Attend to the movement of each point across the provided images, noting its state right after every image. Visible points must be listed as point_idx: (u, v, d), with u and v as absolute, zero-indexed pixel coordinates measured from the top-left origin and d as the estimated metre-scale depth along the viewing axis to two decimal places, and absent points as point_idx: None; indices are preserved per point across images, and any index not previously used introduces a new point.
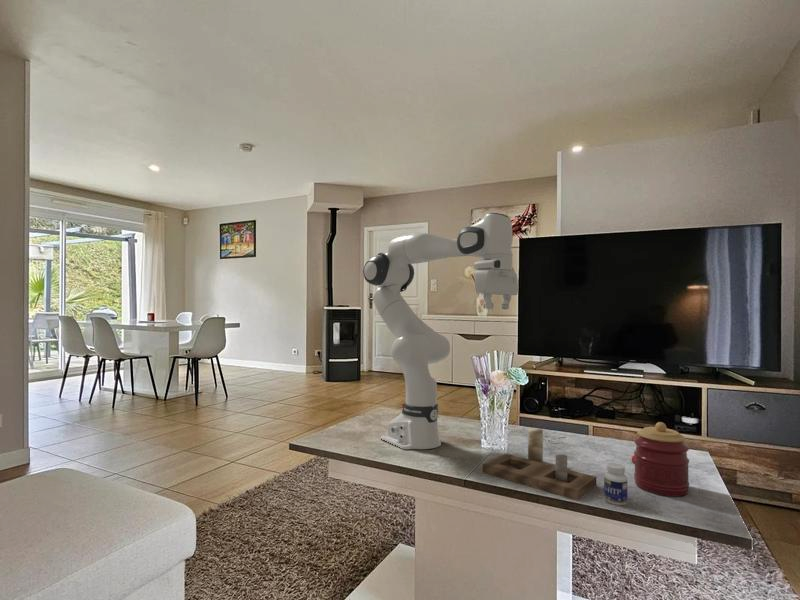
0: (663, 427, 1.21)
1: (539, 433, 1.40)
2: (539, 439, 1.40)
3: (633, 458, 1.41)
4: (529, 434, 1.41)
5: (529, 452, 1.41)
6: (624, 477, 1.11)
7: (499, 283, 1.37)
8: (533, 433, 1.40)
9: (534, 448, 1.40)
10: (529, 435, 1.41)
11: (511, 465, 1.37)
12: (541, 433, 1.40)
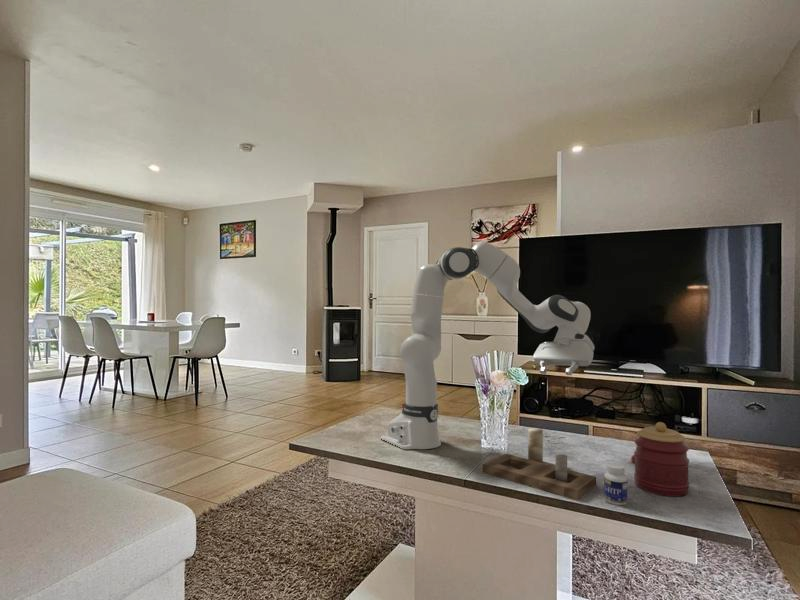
0: (663, 427, 1.21)
1: (539, 433, 1.40)
2: (540, 439, 1.40)
3: (633, 458, 1.41)
4: (529, 434, 1.41)
5: (529, 452, 1.41)
6: (624, 477, 1.11)
7: None
8: (533, 433, 1.40)
9: (534, 448, 1.40)
10: (529, 435, 1.41)
11: (511, 465, 1.37)
12: (541, 433, 1.40)
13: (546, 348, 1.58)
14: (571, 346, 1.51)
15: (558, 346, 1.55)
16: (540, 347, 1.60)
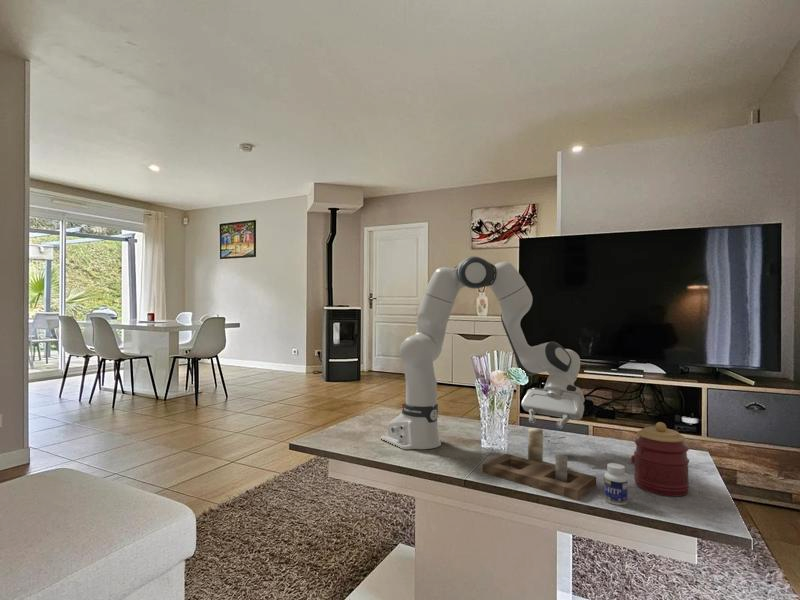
0: (663, 427, 1.21)
1: (539, 433, 1.40)
2: (540, 439, 1.40)
3: (632, 458, 1.41)
4: (529, 434, 1.41)
5: (529, 452, 1.41)
6: (624, 477, 1.11)
7: None
8: (533, 433, 1.40)
9: (534, 448, 1.40)
10: (529, 435, 1.41)
11: (511, 465, 1.37)
12: (541, 433, 1.40)
13: (535, 395, 1.55)
14: (563, 397, 1.49)
15: (548, 395, 1.52)
16: (529, 394, 1.57)
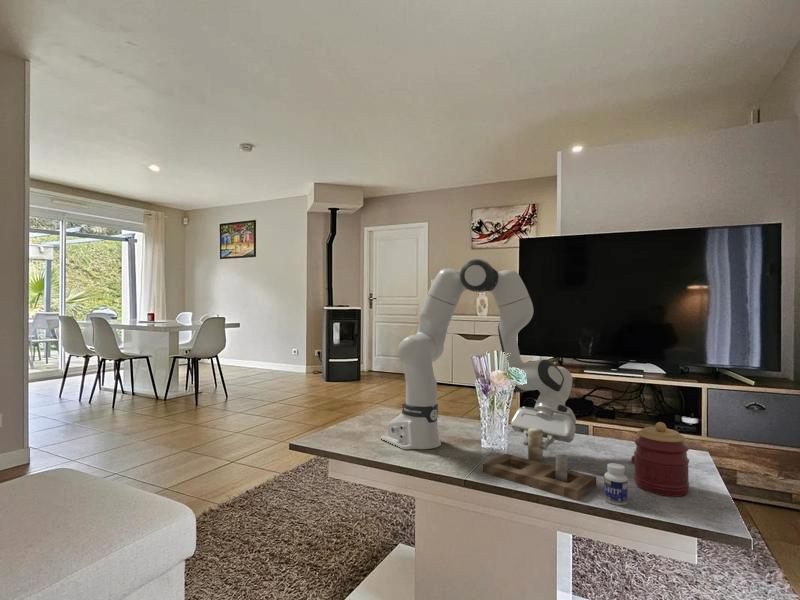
0: (663, 427, 1.21)
1: (539, 433, 1.40)
2: (540, 439, 1.40)
3: (633, 458, 1.41)
4: (529, 434, 1.41)
5: (529, 452, 1.41)
6: (624, 477, 1.11)
7: None
8: (533, 433, 1.40)
9: (534, 448, 1.40)
10: (529, 435, 1.41)
11: (511, 465, 1.37)
12: (541, 433, 1.40)
13: (525, 415, 1.49)
14: (553, 418, 1.43)
15: (538, 415, 1.47)
16: (519, 413, 1.51)
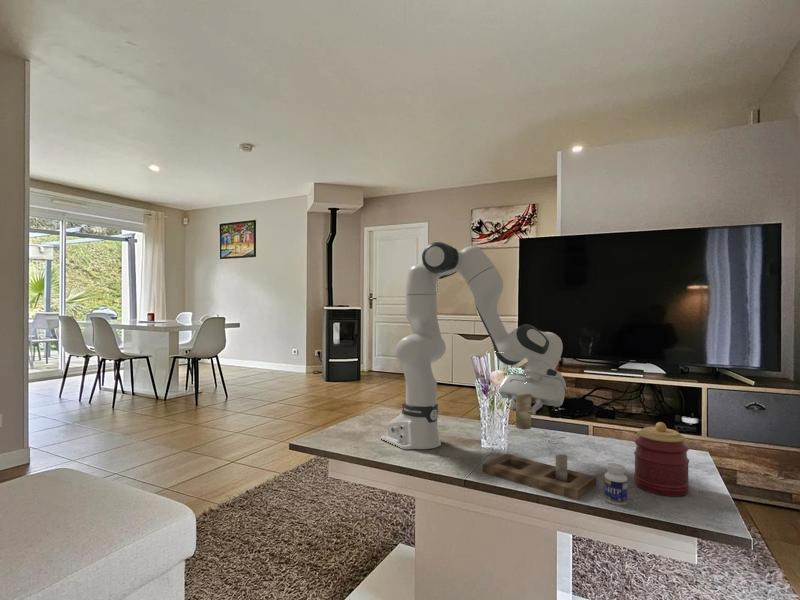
0: (663, 427, 1.21)
1: (527, 397, 1.34)
2: (528, 403, 1.34)
3: None
4: (517, 398, 1.36)
5: (517, 417, 1.36)
6: (624, 477, 1.11)
7: None
8: (521, 397, 1.35)
9: (522, 412, 1.34)
10: (517, 399, 1.36)
11: (511, 465, 1.37)
12: (529, 397, 1.35)
13: (514, 381, 1.44)
14: (542, 382, 1.38)
15: (527, 380, 1.41)
16: (507, 379, 1.46)
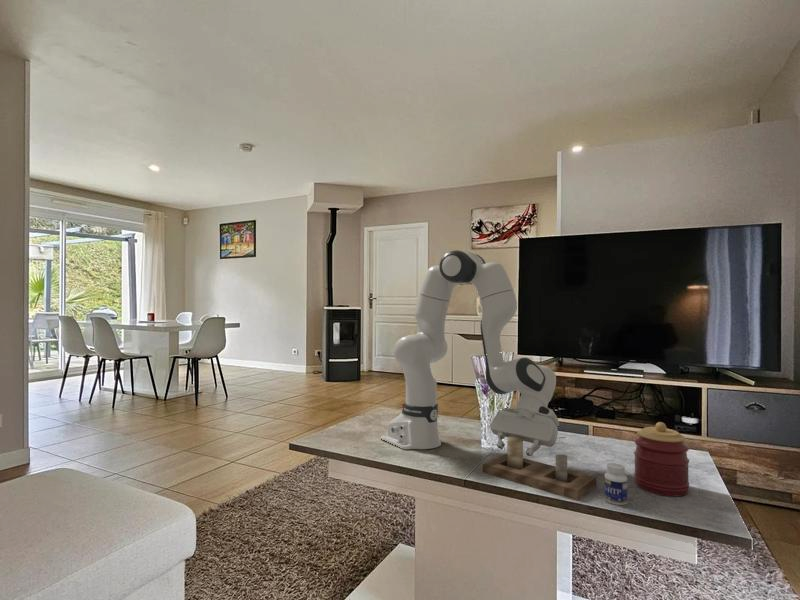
0: (663, 427, 1.21)
1: (519, 442, 1.30)
2: (519, 448, 1.30)
3: None
4: (508, 443, 1.32)
5: (508, 462, 1.31)
6: (624, 477, 1.11)
7: None
8: (512, 442, 1.30)
9: (514, 458, 1.30)
10: (508, 444, 1.32)
11: None
12: (521, 442, 1.31)
13: (505, 417, 1.40)
14: (534, 420, 1.34)
15: (519, 417, 1.37)
16: (499, 415, 1.42)
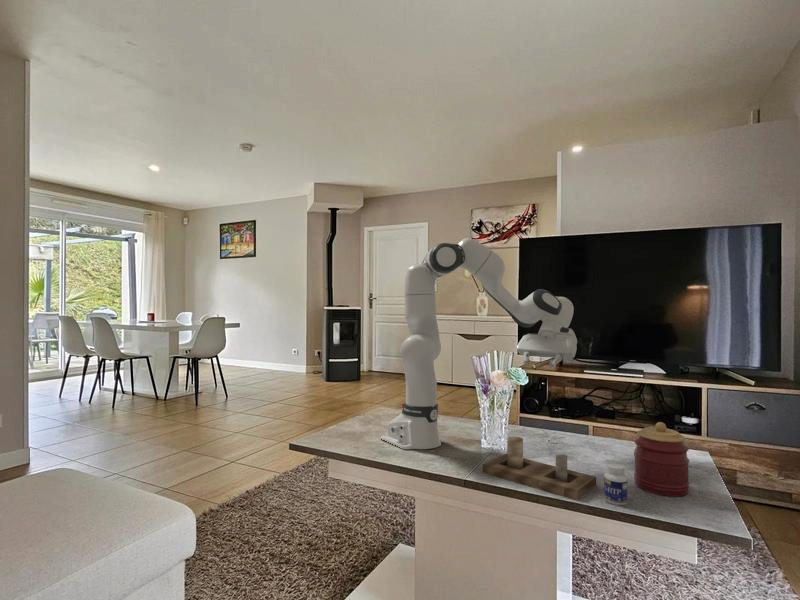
0: (663, 427, 1.21)
1: (519, 442, 1.30)
2: (519, 448, 1.30)
3: None
4: (508, 443, 1.32)
5: (508, 462, 1.31)
6: (624, 477, 1.11)
7: None
8: (512, 442, 1.30)
9: (514, 458, 1.30)
10: (508, 444, 1.31)
11: None
12: (521, 442, 1.31)
13: (530, 340, 1.61)
14: (556, 339, 1.55)
15: (542, 338, 1.58)
16: (524, 338, 1.62)
